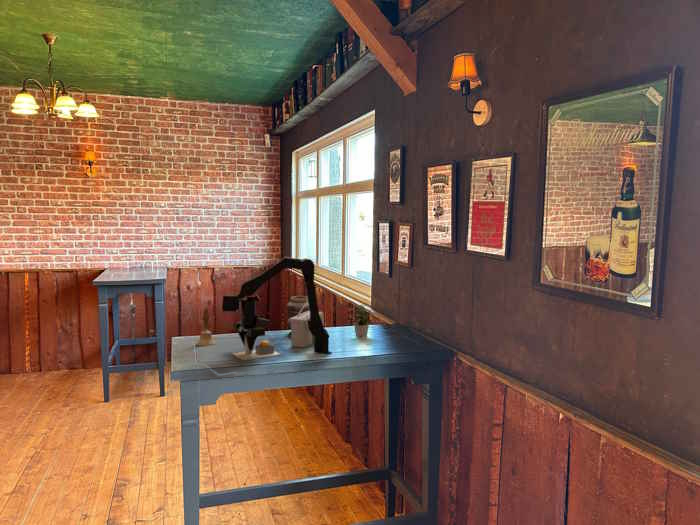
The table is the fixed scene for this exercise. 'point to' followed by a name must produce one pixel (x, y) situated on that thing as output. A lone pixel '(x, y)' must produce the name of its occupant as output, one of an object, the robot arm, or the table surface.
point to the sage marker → (247, 348)
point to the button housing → (264, 349)
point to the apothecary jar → (297, 306)
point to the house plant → (361, 322)
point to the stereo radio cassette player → (302, 329)
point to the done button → (264, 343)
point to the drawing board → (253, 355)
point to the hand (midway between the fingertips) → (248, 349)
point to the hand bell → (205, 332)
